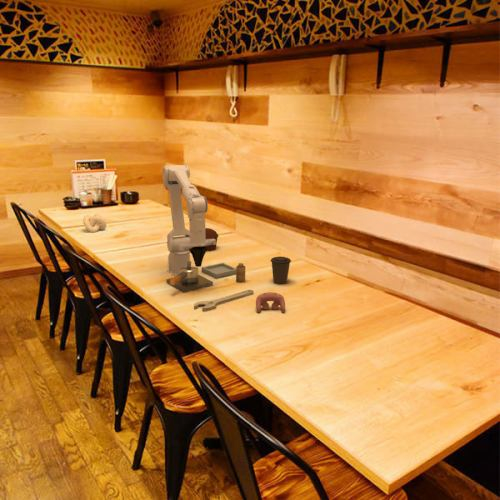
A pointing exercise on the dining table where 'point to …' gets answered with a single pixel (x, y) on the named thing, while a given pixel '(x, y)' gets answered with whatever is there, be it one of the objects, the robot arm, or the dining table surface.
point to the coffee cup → (280, 269)
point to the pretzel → (94, 223)
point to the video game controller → (270, 296)
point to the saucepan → (186, 275)
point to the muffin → (211, 235)
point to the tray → (219, 270)
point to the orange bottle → (240, 273)
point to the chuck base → (191, 284)
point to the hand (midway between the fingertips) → (198, 265)
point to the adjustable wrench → (221, 300)
